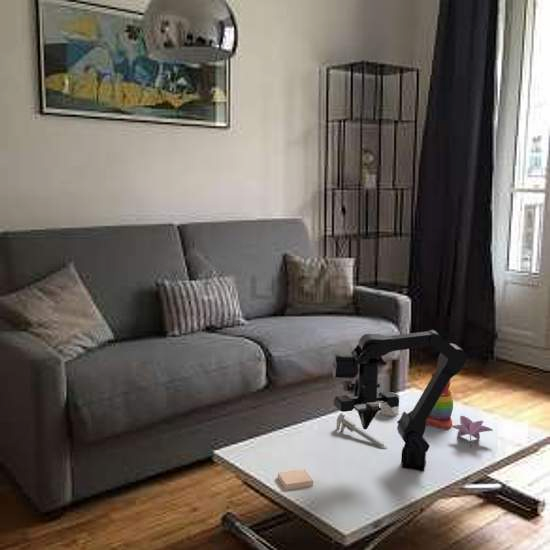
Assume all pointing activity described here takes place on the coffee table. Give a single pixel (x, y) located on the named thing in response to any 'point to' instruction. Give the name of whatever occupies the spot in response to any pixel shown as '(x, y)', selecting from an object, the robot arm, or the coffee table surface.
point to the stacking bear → (442, 410)
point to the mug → (389, 409)
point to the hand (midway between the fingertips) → (364, 428)
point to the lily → (470, 428)
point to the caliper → (356, 430)
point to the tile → (295, 479)
